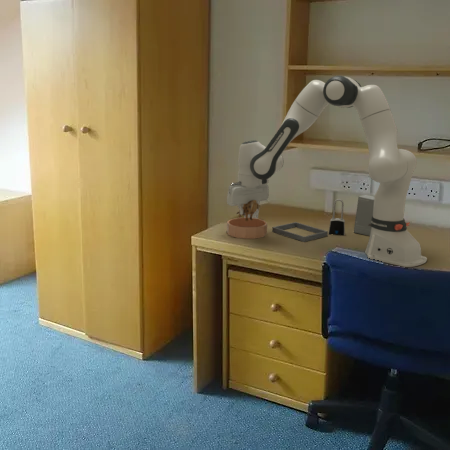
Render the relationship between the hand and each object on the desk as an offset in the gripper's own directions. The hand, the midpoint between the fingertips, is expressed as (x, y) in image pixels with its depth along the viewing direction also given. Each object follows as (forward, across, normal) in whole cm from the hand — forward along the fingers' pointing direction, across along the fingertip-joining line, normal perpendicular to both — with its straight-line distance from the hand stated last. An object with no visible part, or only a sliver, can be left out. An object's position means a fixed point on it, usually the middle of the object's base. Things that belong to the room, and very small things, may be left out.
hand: (247, 213), depth 241 cm
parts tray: (+8, +17, -14) cm, 24 cm away
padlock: (+9, +30, -23) cm, 39 cm away
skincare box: (+9, +41, -30) cm, 52 cm away
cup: (+9, +15, +14) cm, 22 cm away
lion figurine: (+3, +1, +1) cm, 3 cm away
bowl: (+8, 0, 0) cm, 8 cm away
